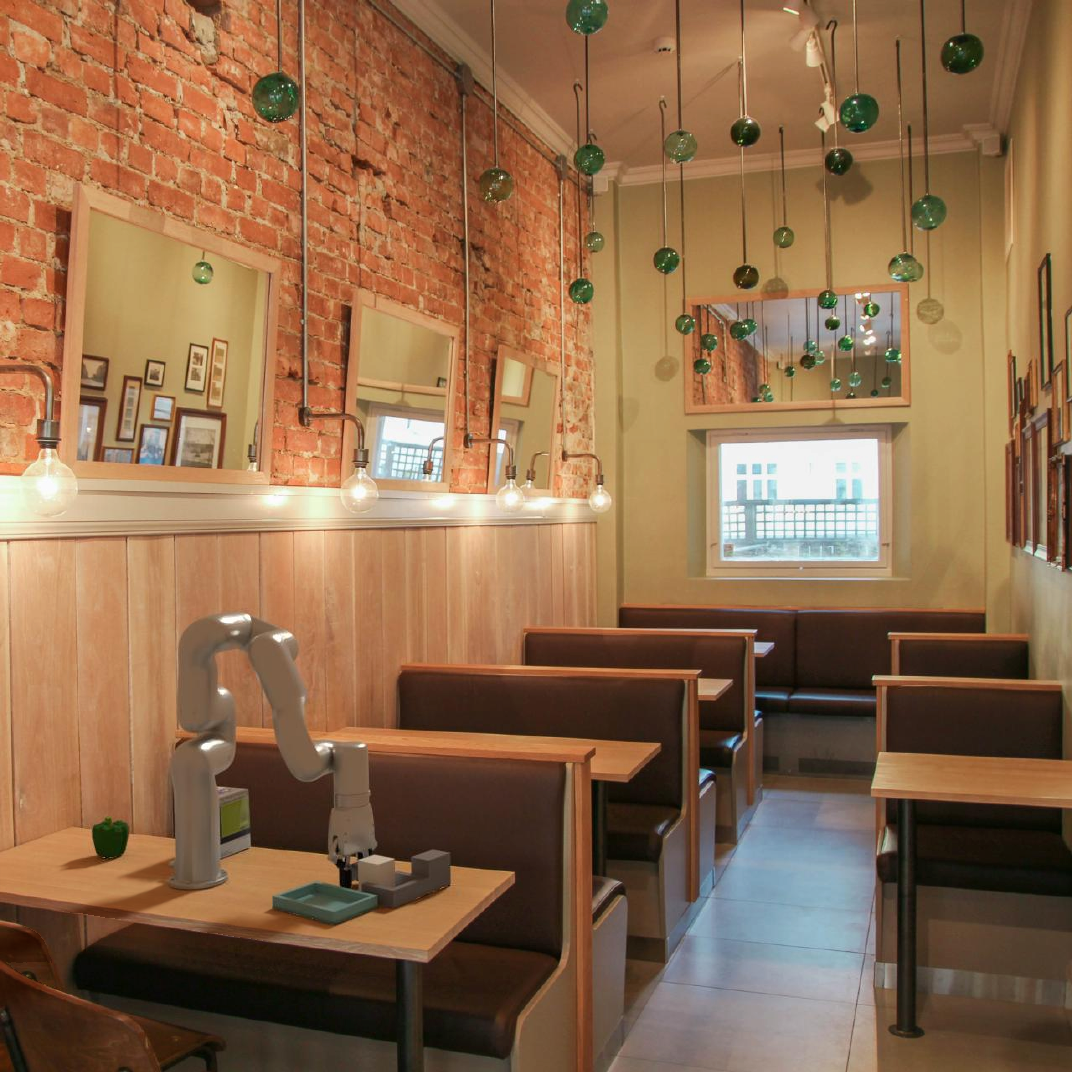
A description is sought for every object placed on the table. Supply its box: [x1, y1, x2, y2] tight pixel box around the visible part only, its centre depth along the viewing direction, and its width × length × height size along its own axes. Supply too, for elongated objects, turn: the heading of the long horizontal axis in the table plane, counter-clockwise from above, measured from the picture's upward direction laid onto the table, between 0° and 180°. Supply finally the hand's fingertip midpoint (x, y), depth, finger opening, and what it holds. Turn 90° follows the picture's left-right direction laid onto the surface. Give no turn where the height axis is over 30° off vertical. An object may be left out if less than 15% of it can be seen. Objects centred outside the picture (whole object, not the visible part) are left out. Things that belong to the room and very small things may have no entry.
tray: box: [271, 880, 379, 926], centre depth 227 cm, size 18×12×2 cm, turn 54°
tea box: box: [217, 786, 252, 860], centre depth 268 cm, size 15×10×15 cm
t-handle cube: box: [349, 854, 396, 892], centre depth 238 cm, size 10×5×7 cm, turn 54°
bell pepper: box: [91, 815, 130, 859], centre depth 268 cm, size 8×8×10 cm
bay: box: [361, 849, 452, 909], centre depth 236 cm, size 9×18×7 cm, turn 144°
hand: (353, 883), depth 241 cm, fingers closed on t-handle cube, 4 cm apart
